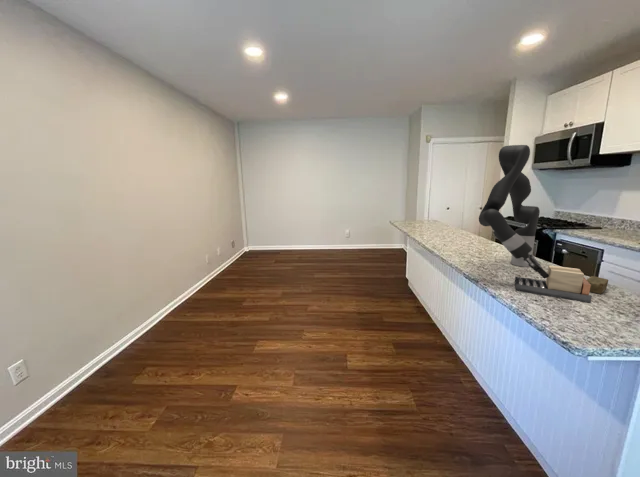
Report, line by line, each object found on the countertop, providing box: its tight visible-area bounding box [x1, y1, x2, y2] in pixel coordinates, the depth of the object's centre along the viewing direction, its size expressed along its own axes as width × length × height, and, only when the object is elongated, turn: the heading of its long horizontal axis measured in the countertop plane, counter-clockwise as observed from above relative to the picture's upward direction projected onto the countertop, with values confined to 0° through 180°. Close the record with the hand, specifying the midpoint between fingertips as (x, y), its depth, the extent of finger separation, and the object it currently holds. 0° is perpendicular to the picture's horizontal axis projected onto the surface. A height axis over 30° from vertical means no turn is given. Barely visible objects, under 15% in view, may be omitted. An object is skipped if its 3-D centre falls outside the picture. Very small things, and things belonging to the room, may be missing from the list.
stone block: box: [586, 275, 609, 295], centre depth 120 cm, size 6×12×5 cm, turn 127°
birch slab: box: [545, 265, 585, 293], centre depth 115 cm, size 8×10×8 cm
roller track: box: [514, 276, 593, 304], centre depth 118 cm, size 12×24×7 cm, turn 57°
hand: (546, 277), depth 118 cm, fingers closed
